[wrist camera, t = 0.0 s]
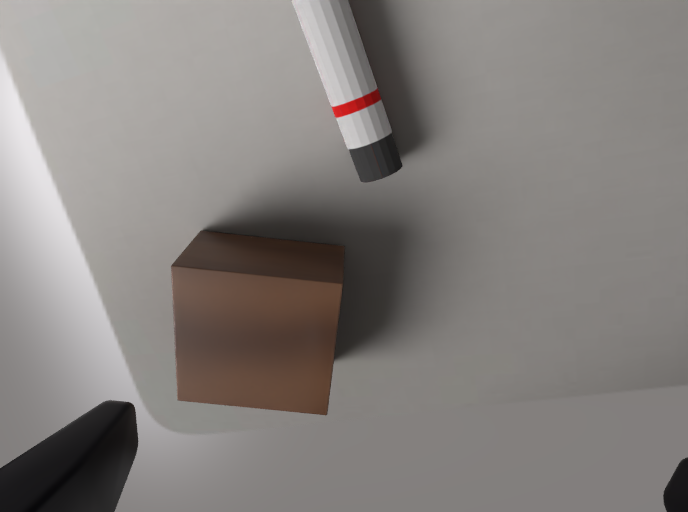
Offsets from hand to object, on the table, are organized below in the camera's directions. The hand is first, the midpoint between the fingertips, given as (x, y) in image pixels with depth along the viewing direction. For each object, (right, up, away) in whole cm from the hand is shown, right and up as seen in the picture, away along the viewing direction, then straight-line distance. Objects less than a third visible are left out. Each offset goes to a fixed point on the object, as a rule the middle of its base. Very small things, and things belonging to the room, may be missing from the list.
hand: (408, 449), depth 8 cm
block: (-5, +1, +16) cm, 17 cm away
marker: (-2, +14, +11) cm, 18 cm away
